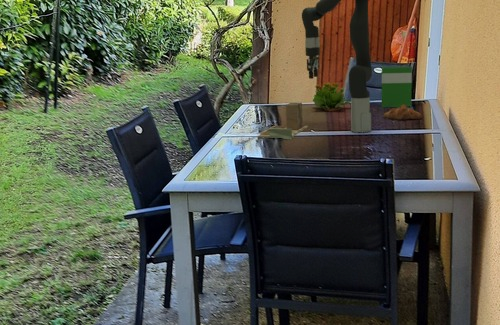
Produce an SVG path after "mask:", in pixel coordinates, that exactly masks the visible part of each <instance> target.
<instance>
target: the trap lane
mask: <svg viewBox="0 0 500 325" xmlns="http://www.w3.org/2000/svg"><path fill="white" fill-rule="evenodd" d="M308 128H309V125H303V127H302V128H301V129H299V130H292V129H287V125H273V126H271V127H269V128H268V129H265V130H263V131H262V132H260V134H259V135H257V136H256V137H257V139H265V138H283V139H282V140H293V139H294V138H293V137H296V136H297V135H298V134H299V133H301V132H303V131H304V130H306V129H308ZM262 137H264V138H262ZM292 138H293V139H292Z"/></svg>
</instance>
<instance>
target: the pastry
mask: <svg viewBox="0 0 500 325" xmlns="http://www.w3.org/2000/svg"><path fill="white" fill-rule="evenodd" d="M382 118H383V119H385V118H388V119H387V120H394V119H397V120H396V121H408V120H407V119H409V120H413V119H417V120H418V119H419V120H423V115H422V114H421V112H419V111H415V110H414V109H413V108H412V107H407V106H406V105H401V106H400V107H397V108H391V109H389V111H387V112H385V113H384V114H382Z"/></svg>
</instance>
